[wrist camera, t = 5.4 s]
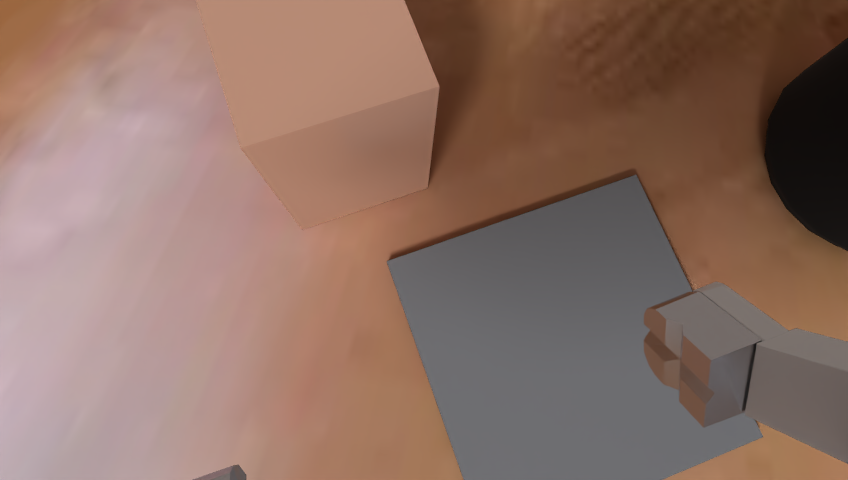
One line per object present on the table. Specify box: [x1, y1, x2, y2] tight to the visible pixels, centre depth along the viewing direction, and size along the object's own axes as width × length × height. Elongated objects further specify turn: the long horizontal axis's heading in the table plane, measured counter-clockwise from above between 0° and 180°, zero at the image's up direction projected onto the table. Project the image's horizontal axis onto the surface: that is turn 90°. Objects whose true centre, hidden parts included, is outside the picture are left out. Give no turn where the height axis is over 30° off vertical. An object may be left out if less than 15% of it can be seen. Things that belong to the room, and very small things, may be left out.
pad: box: [387, 175, 763, 480], centre depth 24 cm, size 13×13×1 cm
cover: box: [196, 0, 440, 230], centre depth 21 cm, size 6×6×10 cm
